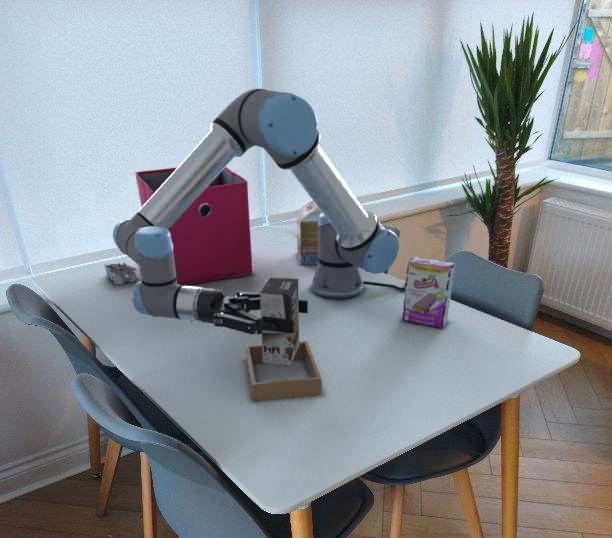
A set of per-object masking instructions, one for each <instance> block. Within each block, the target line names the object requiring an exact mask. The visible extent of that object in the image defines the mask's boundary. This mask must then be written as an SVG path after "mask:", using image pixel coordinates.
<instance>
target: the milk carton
mask: <svg viewBox="0 0 612 538" xmlns="http://www.w3.org/2000/svg"><path fill="white" fill-rule="evenodd" d="M321 213H322V212H321V210H320V209H319V208H318V206H317V205H316V204H315V203H314V201H313V200H311V201H309V202H308V203H306V204H305V205H303V206H302V207H301V208H300V209H298V211H296V252H297V253H296V254H297V258H298V262H299V265H300V266H308V265H311V266H312V265H318V222H319V216H320V214H321Z"/></svg>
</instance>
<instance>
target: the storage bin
mask: <svg viewBox="0 0 612 538" xmlns="http://www.w3.org/2000/svg"><path fill="white" fill-rule="evenodd" d="M178 167H179V166H178ZM178 167H177V166H176V167H168V168H159V169H150V170H142V171H135V172H134V175H135V180H136V184H137V190H138V195H139V202H140V208H142V207H143V206H144V204H145V203H146V202H147V201H148V200H149V199H150V198H151V197H152V196H153V194H154V193H155V192H156V191H157V190H158V189H159V188H160V187H161V186H162V185H163V183H164V182H165V181H166V180H167V179H168V178H169V177H170V176H171V175H172V173H173V172H174V171H175V170H176V169H177V168H178ZM248 185H249V183H248V180H247V179H245V178H244V177H243V176H241V175H240V174H238V173H236V172H235V171H232V170H231V169H230V168H229V167H227V166H226V167H225V168H224V169H223V170H222V171H221V173H220V174H219V175H218V176H217V177H216V178H215V179H214V180H213V181H212V182H211V183H210V185H209V186H208V187H207V188H206V189H205V190H204V191H203V192H202V193H201V194H200V196H199V197H198V198H197V199H196V200H195V201H194V202H193V203H192V204H191V205H190V206H189V208H188V209H187V210H186V211H185V212H184V213H183V214H182V215H181V216H180V217H179V219H178V220H177V221H176V222H175V223H174V224H173V225H172V226H171V227H170V228H169V232H170V234H171V239H172V243H173V248H174V249H173V253H174V261H175V270H176V278H177V284H178V285H185V286H189V285H194V284H201V283H207V282H210V281H211V282H213V281H216V280H224V279H231V278H238V277H244V276H251V275H253V274H254V271H253V257H252V256H253V255H252V241H251V240H252V239H251V223H250V202H249V187H248Z"/></svg>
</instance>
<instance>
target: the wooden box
mask: <svg viewBox="0 0 612 538" xmlns="http://www.w3.org/2000/svg"><path fill="white" fill-rule="evenodd" d="M244 348H245V360H246V361H245V362H246V366H247V372H248V378H249V384H250V390H251V395H252V400H253V402H256V401H269V400H279V399H288V398H289V399H290V398H299V397H301V398H302V397H310V396H311V397H312V396H319V395H320V396H321V395H322V376H321V373H320V370H319V368H318V365H317V363H316V360H315V358H314V355H313V352H312V350H311V347H310V343H309V342H308V340H304V341H303V340H302V341H299V348H298V350H297V352H296V354H295V356H294V358H293V360H295V359H305V363H306V365H307V369H308V371H309V374H310V377H304V378H292V379H281V380H269V381H259V382H256V375H255V369H254V365H253V363H257V362H258V363H259V362H263V352H262V344H255V345H253V344H252V345H246V346H245V347H244Z"/></svg>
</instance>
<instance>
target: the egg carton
mask: <svg viewBox="0 0 612 538" xmlns="http://www.w3.org/2000/svg"><path fill="white" fill-rule="evenodd" d="M103 266H104V269H105V272H106V277H107V278H110V281H113V283H114V285H124V284H125V283H134V282H135V281H137V273H136V270H137V269H136V268H135V266H132V265H128V264H127V263H125V262H122V264H121V263H120V262H118V263H110V264H105V263H104V265H103Z"/></svg>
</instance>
